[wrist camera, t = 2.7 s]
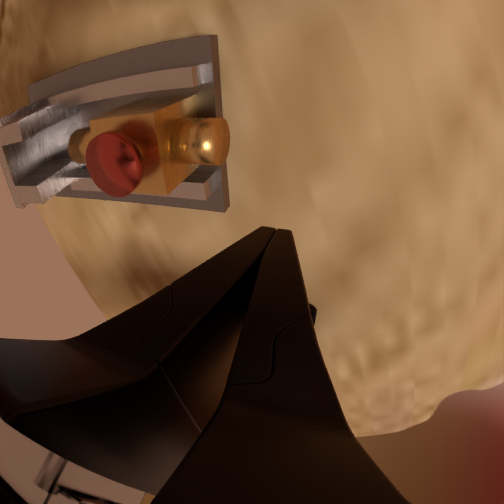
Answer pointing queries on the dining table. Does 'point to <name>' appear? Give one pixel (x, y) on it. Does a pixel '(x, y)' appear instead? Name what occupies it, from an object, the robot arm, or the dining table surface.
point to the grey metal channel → (100, 102)
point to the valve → (149, 145)
